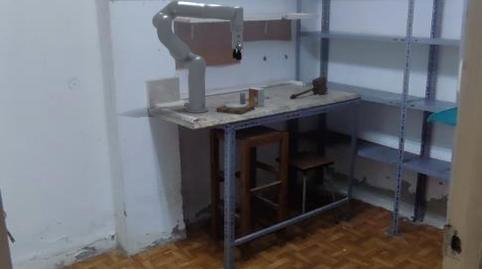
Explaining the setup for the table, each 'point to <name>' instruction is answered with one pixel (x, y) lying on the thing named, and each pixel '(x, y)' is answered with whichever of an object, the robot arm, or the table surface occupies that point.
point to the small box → (256, 97)
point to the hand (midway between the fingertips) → (237, 59)
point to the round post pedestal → (237, 103)
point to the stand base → (235, 111)
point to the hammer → (315, 87)
